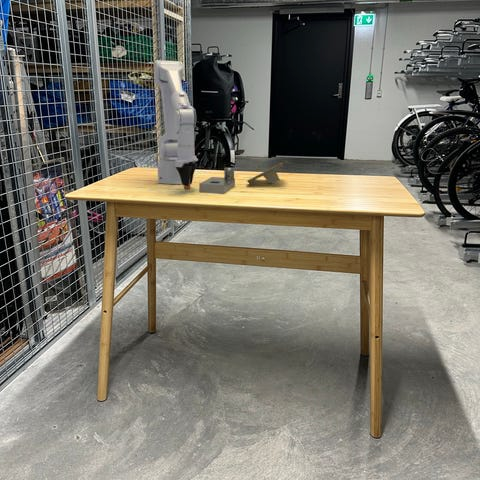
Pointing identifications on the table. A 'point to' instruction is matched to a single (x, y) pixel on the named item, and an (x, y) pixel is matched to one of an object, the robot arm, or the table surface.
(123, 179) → the table surface
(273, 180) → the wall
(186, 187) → the cylindrical pin
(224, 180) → the silver box with hole
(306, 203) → the table surface
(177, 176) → the robot arm
